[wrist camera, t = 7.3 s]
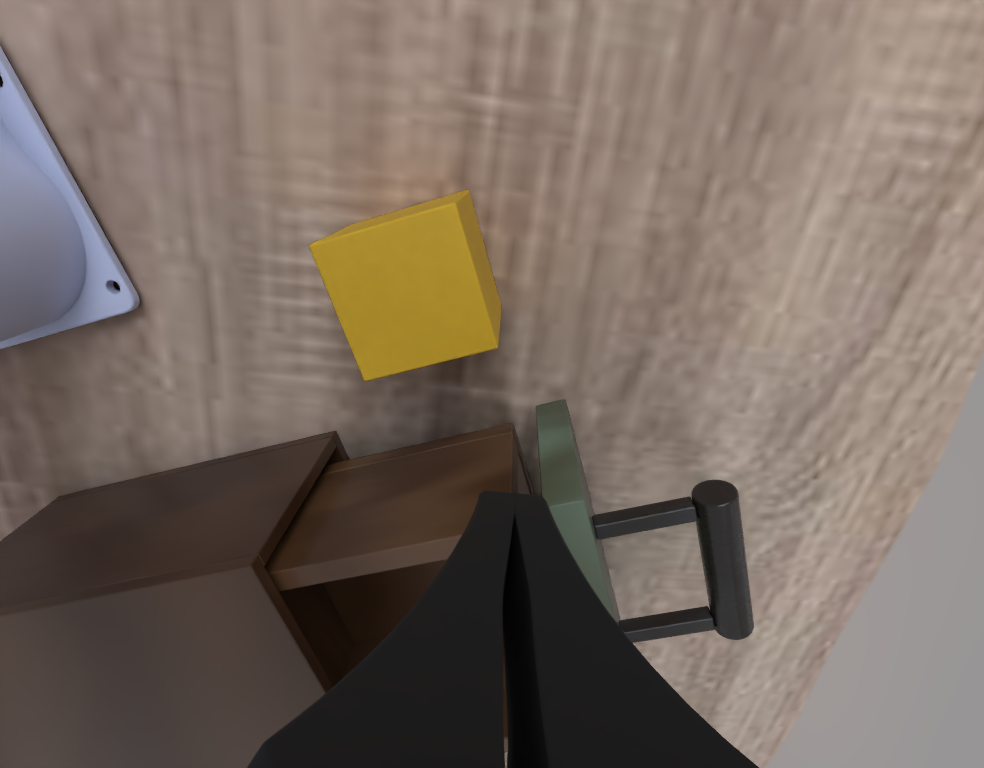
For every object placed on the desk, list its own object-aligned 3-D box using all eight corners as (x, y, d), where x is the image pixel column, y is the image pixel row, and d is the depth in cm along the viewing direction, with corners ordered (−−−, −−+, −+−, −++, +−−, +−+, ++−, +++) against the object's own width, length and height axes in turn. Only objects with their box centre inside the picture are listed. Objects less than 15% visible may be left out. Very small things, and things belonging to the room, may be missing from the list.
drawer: (688, 370, 20) (760, 464, 14) (719, 583, 24) (785, 725, 18) (260, 468, 23) (169, 583, 17) (354, 645, 27) (308, 787, 21)
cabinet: (336, 430, 23) (250, 566, 15) (426, 630, 27) (393, 808, 20) (58, 496, 25) (-134, 643, 17) (185, 671, 29) (75, 846, 22)
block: (351, 224, 19) (307, 245, 15) (468, 189, 18) (455, 201, 14) (393, 337, 21) (363, 382, 17) (502, 308, 20) (498, 349, 16)
